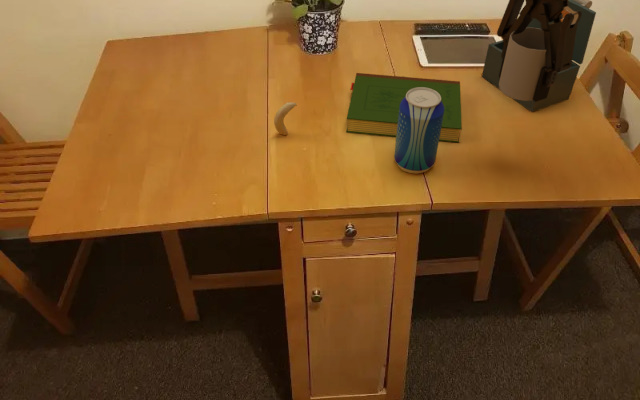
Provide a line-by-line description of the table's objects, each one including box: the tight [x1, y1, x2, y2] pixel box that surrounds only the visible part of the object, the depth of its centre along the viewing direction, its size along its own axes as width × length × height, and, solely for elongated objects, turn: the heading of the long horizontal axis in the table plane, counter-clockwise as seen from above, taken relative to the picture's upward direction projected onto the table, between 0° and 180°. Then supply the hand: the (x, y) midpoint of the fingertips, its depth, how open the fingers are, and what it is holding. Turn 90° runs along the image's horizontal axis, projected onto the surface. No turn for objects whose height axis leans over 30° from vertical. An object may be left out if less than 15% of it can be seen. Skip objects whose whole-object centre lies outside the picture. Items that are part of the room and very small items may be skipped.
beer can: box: [393, 87, 444, 175], centre depth 114 cm, size 8×8×16 cm
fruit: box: [273, 101, 298, 136], centre depth 123 cm, size 4×8×2 cm
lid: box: [527, 0, 597, 65], centre depth 132 cm, size 12×18×6 cm
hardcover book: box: [345, 72, 463, 144], centre depth 131 cm, size 25×19×4 cm
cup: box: [498, 28, 546, 101], centre depth 104 cm, size 8×8×10 cm
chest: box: [481, 39, 581, 113], centre depth 137 cm, size 12×18×9 cm, turn 28°
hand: (522, 87), depth 107 cm, fingers closed on cup, 8 cm apart
